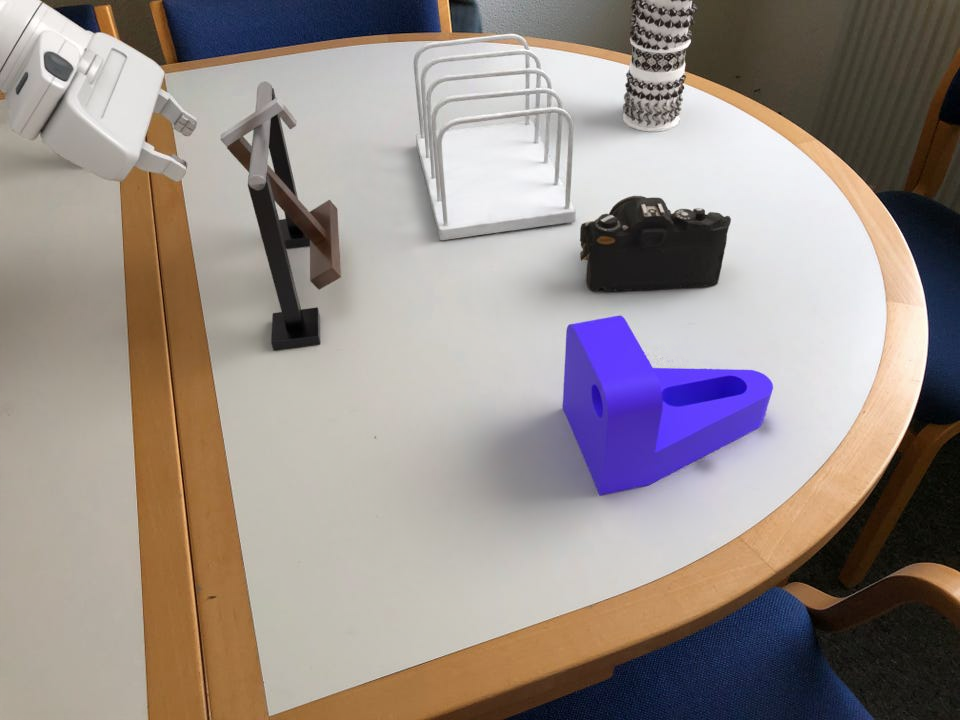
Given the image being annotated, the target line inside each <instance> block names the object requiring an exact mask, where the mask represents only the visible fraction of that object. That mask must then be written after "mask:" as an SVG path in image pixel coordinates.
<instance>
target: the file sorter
mask: <svg viewBox="0 0 960 720" xmlns="http://www.w3.org/2000/svg"><path fill="white" fill-rule="evenodd" d="M505 40H515V41H518V42H520V43H521V44H522V45H523V47H524V48H519V49H508V50H505V49H504V50H497V51H485V52H476V53H474V52H473V53H466V54H465V53H464V54H455V55H454V54H453V55H445V56H439V57H438V56H437V57H435V58H432V59H430V60H429V61H427V62H426V64H425V65H424V67H423V68H422V70H421V73H420V76H419V66H418V65H419V59H420V57H421V55H422V54H423V53H424V52H425V51H427V50H430V49H435V48H441V47H442V48H443V47H453V46H459V45H461V46H462V45H470V44H477V43H487V42H496V41H505ZM521 55H522V56H524V55H525V58H524V59H525V68H513V69H501V70H500V69H499V70H490V71H488V70H487V71H476V72H467V73H466V72H465V73H457V74H455V73H454V74H445V75H442V76H439V77H437V78H435V80H433V81H432V82H431V83H430V85H429V86H428V88H426V76H427V74H428V72H429V70H430V69H431V68H432V67H433V66H435V65H437V64H440V63H448V62H450V63H451V62H459V61H467V60H468V61H469V60H476V59H478V60H479V59H488V58H497V57H500V58H501V57H509V56H510V57H511V56H521ZM530 58H532V59H533V61H534V62H535V66H536V67H531V66H530V65H531V64H530ZM541 65H542V64H541V60H540V59H539V57H538V56H537V54H535V52H533V51H532V50H530V47H529V44H528V42H527V41H526V39H525V38H524V37H522V36H521V35H519V34H516V33H505V34H504V33H503V34H496V35H486V36H476V37H469V38H468V37H467V38H458V39H450V40H443V41H441V40H440V41H433V42H428V43H425V44H423V45H421V47H420V48H418V49H417V51H416V52H415V54H414V57H413V73H414V83H415V85H414V86H415V94H416V103H417V114H418V121H419V134H416V135H415V142H416V143H415V144H416V148H417V152H418V156H419V159H420V160H419V161H420V164H421V167H422V171H423V176H424V179H425V185H426V188H427V192H428V195H429V196H428V197H429V200H430V204H431V209H432V213H433V218H434V221H435V225H436V229H437V233H438V234H437V235H438V238H439V240H440V241H446V240H454V239H455V240H456V239H461V238H462V239H463V238H467V237H476V236H480V235H489V234H490V235H491V234H494V233H495V234H496V233H503V232H509V231H511V232H512V231H517V230H524V229H531V228H540V227H545V226H547V227H548V226H554V225H561V224H569V223H574V222H576V221H577V219H576V217H577V216H576V215H577V214H576V213H577V210H576V208H575V206H574V204H573V202H572V200H571V189H572V171H573V170H572V169H573V152H574V121H573V118H572V116H571V115H570V114H569V112H567V111H566V110H565V109H564V107H563V101H562V99H561V96H560V94H559V93H557V91H555V90H554V89H553V84H552V81H551V80H552V79H551V78H550V76H549V75H548V74H547V72H546V71H544V70H543V69H542V66H541ZM530 74H533V75H534V74H535V75H536V84H535V87H531V88H530V78H531V77H530V76H531V75H530ZM517 75H518V76H519V75H525V88H520V89H519V88H518V89H507V90H500V91H499V90H497V91H488V92H487V91H486V92H477V93H466V94H456V95H449V96H446V97H444V98H442V99H441V100H440V101H439V102H437V104H436V105H434V107H433V110H432V95H433V92H434V90H435V88H436V87H438V85H440V84H443V83H445V82H452V81H462V80H463V81H464V80H472V79H482V78H483V79H485V78H494V77H495V78H496V77H509V76H517ZM542 78H544V80H545V82H546V87H541V85H542V84H541V83H542ZM426 89H427V91H426ZM541 94H546V107H541ZM530 95H535V106H534V107H535V108H532V109H530ZM517 96H525V109H523V110H513V111H506V112H497V113H488V114H480V115H479V114H478V115H472V116H471V115H470V116H463V117H458V118H454V119H451V120H449V121H447V122H446V123H445V124H443V126H442V127H441V128H440V129H439V131H438V130H437V115H438V113H439V111H440V110H441V108H443V107H444V106H445V105H447V104H449V103H453V102H465V101H474V100H485V99H496V98H505V97H507V98H508V97H517ZM553 98H554V99H555V100H556V103H557V106H552V102H553V101H552V99H553ZM552 114H557V121H556V123H557V124H556V141H555V142H556V143H555V158H554V162H553V160H552V157H551V156H550V154H549V152H550V139H551V138H550V134H551V120H552V119H551V116H552ZM540 115H545V134H544V142H543V140H542V138H541V135H540ZM530 116H534V121H532V120H530ZM520 117H525V118H524V119H525V120H522V121H515V122H507V123H499V124H498V123H497V124H491V125H481V126H474V127H466V128H465V127H464V128H458V129H452V128H453V127H454V126H458V125H463V124H471V123H480V122H486V121H487V122H488V121H494V120H495V121H496V120H504V119H511V118H520ZM563 117H564V118H565V119H566V121H567V125H568V129H567V130H568V133H567V157H566V158H567V159H566V173H565V174H566V175H565V176H566V177H565V178H566V179H565V182H566V183H565V185H564V183H563V181H562V179H561V177H560V164H561V163H560V162H561V148H562V147H561V145H562V132H563V131H562V130H563Z"/></svg>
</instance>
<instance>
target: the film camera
mask: <svg viewBox="0 0 960 720" xmlns="http://www.w3.org/2000/svg"><path fill="white" fill-rule="evenodd" d="M663 199H664V198H661V197H646V196H642V195H631V196H628V197H625V198H623V199H621V200H619V201H618V202H616V203H615V204H614V205H613V206H612V208H611V209H610V211H609V213H603V214H601V215H600V216H599V217H598V218H596V219H595V220H591V221H590V220H589V221H587V222H583V223H581V225H580V228H579V229H580V230H579V237H580V238H579V242H580V247H581V251H580V253H579V258H580V261H581V262H582V261H586V273H585V281H586V285H587V288H588V289H589V290H591V291H594V292H599V291H600V289H604V290H605V291H607V292H624V291H640V290H641V291H642V290H643V291H646V290H648V291H649V290H663V289H665V290H668V289H679V288H686V289H688V288H704V287H709V286H715V285H718V283H719V280H720V276H721V272H722V271H721V270H722V266H723V261H724V255H725V250H726V247H727V240H728V232H729V229H730V226H731V222H732V219H731V216H729V215H725V216H724V215H722V213H720V212H717V211H716V212H714V211H709V212H708V213H707V214H706V210H705V209H704V208H701V207H699V208H698V207H697V208H693V210H691V209H689V208H679V209H676V210H675V211H674V212H673V213H672V212H671V210H670V209H669V208H668V206H667V204H666V201H664V200H663Z"/></svg>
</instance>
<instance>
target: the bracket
mask: <svg viewBox="0 0 960 720" xmlns="http://www.w3.org/2000/svg"><path fill="white" fill-rule="evenodd" d="M565 333H566V334H565V349H564V351H565V354H564V371H563V372H564V373H563V389H562V390H563V394H562V411H563V412H564V415H565V417H566V419H567V421H568V424H569V426H570V429H571V431H572V433H573V436H574V439H575V441H576V443H577V445H578V447H579V451H580V453H581V455H582V457H583V460H584V461H585V464H586V466H587V469H588V472H589V473H590V476H591V478H592V481H593V483H594V486H595V488H596V491H597V492H598V495H599V496H603V495H608V494H613V493H618V492H622V491H627V490H632V489H636V488H642V487H646V486H650V485H652V484H654V483H656V482H658V481H660V480H662V479H664V478H665V477H668V476H670V475H672V474H674V473H675V472H677V471H679V470H681V469H683V468H685V467H686V466H687V467H688V466H689V465H690V464H692V463H694V462H696V461H698V460H700V459H702V458H704V457H706V456H708V455H709V454H711V453H714V452H716V451H717V450H719V449H721V448H723V447H726V446H727V445H729V444H730V443H732V442H735V441H736V440H738V439H740V438H742V437H744V436H746V435H748V434H750V433H751V432H754V431H755V430H758V429H759V428H760V427H761V426H762V425H763V423H764V420H765V417H766V413H767V411H768V407H769V403H770V400H771V397H772V394H773V390H774V385H773V382H772V380H771V378H769V376H768V375H766V374H764V373H762V372H761V371H757V370H754V369H732V368H729V369H728V368H727V369H725V368H682V367H681V368H678V367H677V368H675V367H673V368H672V367H653V366H652V364H651V361H649V359H648V356H647V355H646V353H645V352H644V350H643V348H642V346H641V345H640V343H639V341H638V339H637V338H636V335H635V334H634V332H633V331H632V329H631V327H630V325H629V324H628V322H627V320H626V319H625V317H624V316H623V315H614V316H608V317H602V318H597V319H591V320H586V321H581V322H580V321H579V322H575V323H570V324H568V325H567V327H566V332H565Z"/></svg>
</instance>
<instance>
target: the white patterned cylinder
mask: <svg viewBox="0 0 960 720" xmlns="http://www.w3.org/2000/svg"><path fill="white" fill-rule="evenodd" d="M630 9H631V13H632V15H631V17H630V18H631V19H630V21H629V22H630V25H631V26H630V29H629V32H628V33H629V35H630V37H629V41H630V44H631V46H632V49H631V50H632V51H631V58H630V59H629V67H628V70H627V72H626V74H625V76H626V83H625V84H624V86H625V90H626V92H625V94H623V99H624V103H623V106H622V108H623V114H622V120H623V123H625V124H626V125H627V126H628V127H630V128H632V129H635V130H638V131H643V132H650V133H651V132H652V133H654V132H655V133H656V132H657V133H659V132H664V131H669V130H671V129H673V128H675V127H677V125H678V124H679V122H680V115H681V113H680V112H681V111H682V107H681V106H682V102H683V101H684V98H683V96H682V94H683V93H684V90H685V85H684V83H685V80H686V78H687V75H686V74H685V71H686V70H685V69H686V54H687V48H688V47H689V46H690V45H691V42H692V40H691V39H692V37H693V32H692V31H691V30H689V28H690V27H692V26H694V25H695V23H696V21H697V20H696V18H695V17H694V16H693V15H694V14H696V13H697V11H698V6H697V5H696V4H694V2H693V0H632V2H631V3H630Z"/></svg>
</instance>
